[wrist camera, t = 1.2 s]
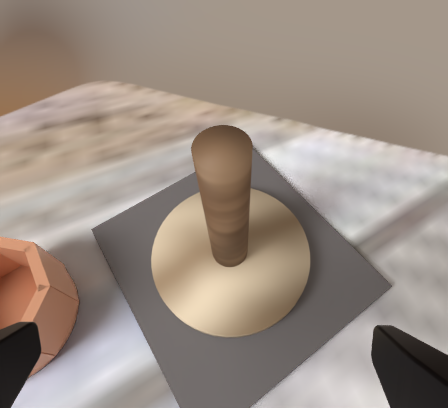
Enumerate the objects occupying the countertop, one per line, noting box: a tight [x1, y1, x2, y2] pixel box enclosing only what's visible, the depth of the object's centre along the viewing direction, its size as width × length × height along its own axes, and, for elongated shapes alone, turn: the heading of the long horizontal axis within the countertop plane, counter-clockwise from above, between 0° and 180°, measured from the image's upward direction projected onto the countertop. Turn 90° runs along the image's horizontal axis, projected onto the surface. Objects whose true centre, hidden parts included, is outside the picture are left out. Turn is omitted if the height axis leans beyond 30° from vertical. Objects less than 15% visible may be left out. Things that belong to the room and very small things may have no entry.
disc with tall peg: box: [151, 125, 310, 338], centre depth 18 cm, size 12×12×12 cm
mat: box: [91, 149, 392, 408], centre depth 23 cm, size 17×16×1 cm
